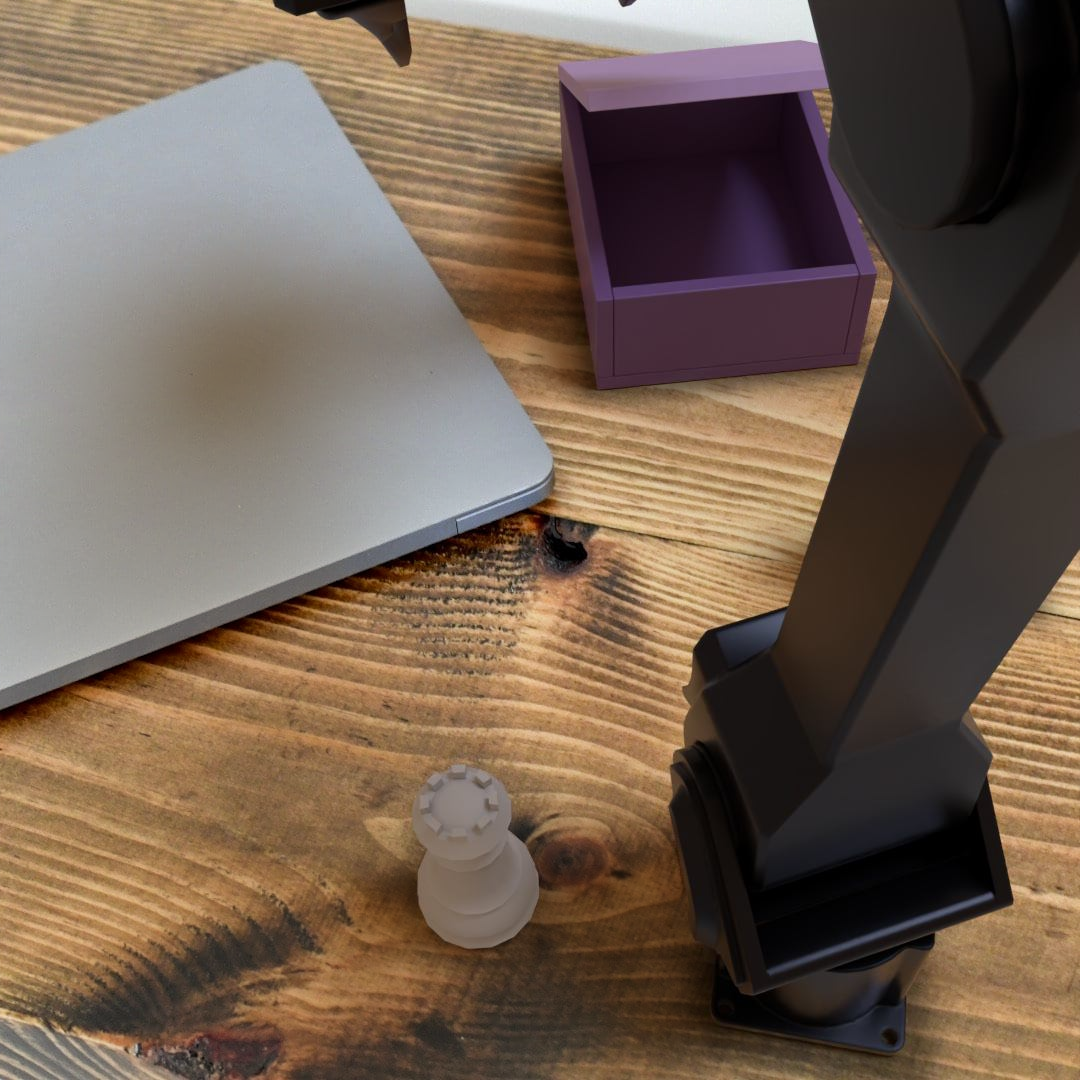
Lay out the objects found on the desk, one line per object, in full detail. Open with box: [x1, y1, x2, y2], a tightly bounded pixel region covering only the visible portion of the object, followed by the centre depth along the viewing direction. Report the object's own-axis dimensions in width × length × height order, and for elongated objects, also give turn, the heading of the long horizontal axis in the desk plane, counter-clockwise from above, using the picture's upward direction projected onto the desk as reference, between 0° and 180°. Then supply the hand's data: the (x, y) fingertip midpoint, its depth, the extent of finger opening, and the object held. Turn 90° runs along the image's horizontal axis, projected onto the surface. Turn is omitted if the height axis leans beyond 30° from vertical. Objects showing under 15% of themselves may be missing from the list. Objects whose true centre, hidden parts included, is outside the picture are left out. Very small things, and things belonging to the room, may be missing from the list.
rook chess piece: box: [411, 763, 540, 950], centre depth 45 cm, size 4×4×8 cm
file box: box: [558, 79, 878, 391], centre depth 65 cm, size 17×13×6 cm
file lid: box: [557, 39, 829, 112], centre depth 59 cm, size 17×13×1 cm
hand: (512, 26), depth 51 cm, fingers open, 9 cm apart
